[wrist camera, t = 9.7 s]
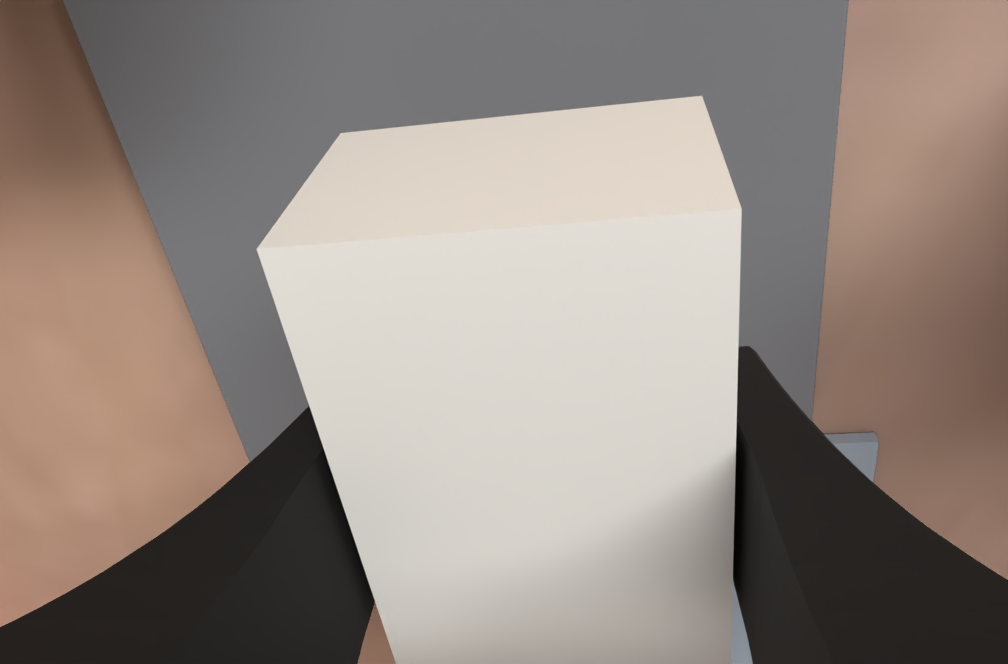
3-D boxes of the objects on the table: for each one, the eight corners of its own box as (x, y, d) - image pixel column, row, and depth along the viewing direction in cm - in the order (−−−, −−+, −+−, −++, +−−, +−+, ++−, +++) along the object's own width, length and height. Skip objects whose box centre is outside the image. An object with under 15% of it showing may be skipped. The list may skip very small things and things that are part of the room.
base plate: (847, -154, 15) (861, -150, 15) (801, 421, 23) (809, 445, 22) (74, -42, 18) (49, -33, 17) (263, 445, 25) (252, 468, 25)
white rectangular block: (701, 95, 11) (741, 209, 8) (703, 558, 16) (729, 733, 13) (340, 132, 12) (257, 249, 9) (449, 564, 16) (418, 730, 14)
